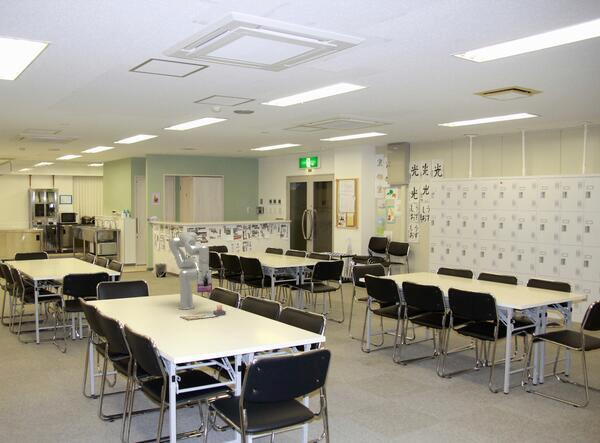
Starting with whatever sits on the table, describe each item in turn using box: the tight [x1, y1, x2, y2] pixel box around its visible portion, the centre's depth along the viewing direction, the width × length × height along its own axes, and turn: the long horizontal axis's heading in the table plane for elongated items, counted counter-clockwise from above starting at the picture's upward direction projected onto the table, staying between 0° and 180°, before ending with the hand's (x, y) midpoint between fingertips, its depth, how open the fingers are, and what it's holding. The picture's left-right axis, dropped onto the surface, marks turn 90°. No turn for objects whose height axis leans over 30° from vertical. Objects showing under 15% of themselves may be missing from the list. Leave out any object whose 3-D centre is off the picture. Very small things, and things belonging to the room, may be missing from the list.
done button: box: [216, 304, 223, 312], centre depth 419 cm, size 4×4×5 cm
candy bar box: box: [195, 269, 213, 293], centre depth 423 cm, size 11×5×16 cm, turn 113°
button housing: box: [212, 309, 227, 317], centre depth 419 cm, size 7×7×3 cm
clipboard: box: [179, 312, 219, 322], centre depth 410 cm, size 15×24×1 cm, turn 123°
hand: (204, 285), depth 423 cm, fingers closed on candy bar box, 5 cm apart
